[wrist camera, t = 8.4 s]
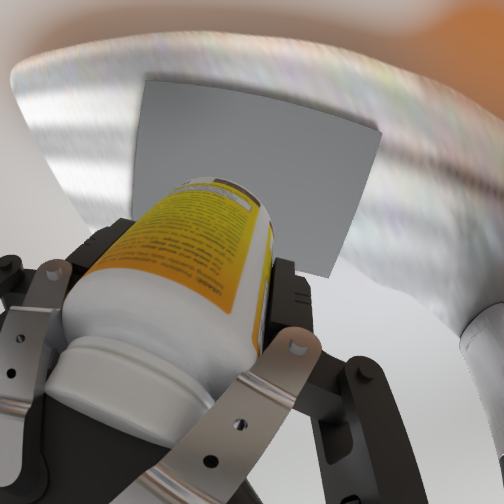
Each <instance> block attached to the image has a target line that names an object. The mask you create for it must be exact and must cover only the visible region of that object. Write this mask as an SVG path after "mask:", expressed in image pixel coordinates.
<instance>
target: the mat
mask: <svg viewBox="0 0 504 504" xmlns="http://www.w3.org/2000/svg"><path fill="white" fill-rule="evenodd" d="M381 137H382V132H379V131H377V130H374V129H371V128H369V127H366V126H363V125H361V124H358V123H355V122H352V121H349V120H346V119H344V118H340V117H337V116H334V115H331V114H328V113H325V112H321V111H318V110H315V109H311V108H308V107H304V106H301V105H297V104H293V103H289V102H285V101H281V100H277V99H273V98H268V97H264V96H259V95H254V94H249V93H244V92H239V91H233V90H227V89H221V88H215V87H208V86H200V85H192V84H183V83H173V82H161V81H146V82H145V88H144V94H143V100H142V106H141V113H140V121H139V129H138V137H137V146H136V157H135V169H134V184H133V203H132V221H136V222H137V221H138V220H139V219H140V218H141V217H142V216H143V215H144V214H145V213H146V212H147V211H148V210H150V209H151V208H152V207H153V206H154V205H155V204H156V203H157V202H159V201H160V200H161V199H162V198H163V197H164V196H165V195H166V194H167V193H169V192H170V191H171V190H172V189H174V188H175V187H176V186H178V185H180V184H182V183H183V182H186V181H188V180H191V179H195V178H199V177H219V178H225V179H228V180H231V181H233V182H236V183H238V184H240V185H242V186H243V187H245V188H246V189H248V190H249V191H251V192H252V193H253V194H254V195H255V196H256V197H257V198H258V199H259V200H260V201H261V203H262V204H263V205H264V207H265V208H266V210H267V212H268V214H269V216H270V218H271V221H272V225H273V230H274V251H273V262H272V264H273V263H274V260H275V258H276V257H278V258H282V259H286V260H290V261H294V262H295V270H297V271H301V272H305V273H309V274H313V275H317V276H321V277H325V278H329V276H330V273H331V271H332V269H333V267H334V264H335V262H336V259H337V257H338V255H339V252H340V250H341V248H342V245H343V243H344V240H345V238H346V235H347V233H348V230H349V228H350V225H351V223H352V220H353V217H354V215H355V212H356V210H357V207H358V204H359V201H360V199H361V196H362V193H363V190H364V188H365V185H366V182H367V179H368V176H369V173H370V171H371V168H372V165H373V162H374V159H375V156H376V152H377V149H378V146H379V143H380V140H381Z"/></svg>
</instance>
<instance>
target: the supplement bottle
mask: <svg viewBox="0 0 504 504" xmlns="http://www.w3.org/2000/svg"><path fill="white" fill-rule="evenodd" d="M273 251H274V230H273V225H272V221H271V218H270V216H269V214H268V212H267V210H266V208H265V207H264V205H263V204H262V203H261V201H260V200H259V199H258V198H257V197H256V196H255V195H254V194H253V193H252V192H251V191H249V190H248V189H246V188H245V187H243V186H242V185H240V184H238V183H236V182H233V181H231V180H228V179H225V178H219V177H199V178H195V179H191V180H188V181H186V182H183V183H182V184H180V185H178V186H176V187H175V188H174V189H172V190H171V191H170V192H169V193H167V194H166V195H165V196H164V197H163V198H162V199H161V200H160V201H159V202H157V203H156V204H155V205H154V206H153V207H152V208H151V209H150V210H148V211H147V212H146V213H145V214H144V215H143V216H142V217H141V218H140V219H139V220H138V221H137V222H136V223H135V224H134V225H133V226H131V227H130V228H129V229H128V230H127V231H126V232H125V233H124V234H123V235H122V236H121V237H120V238H119V239H118V240H117V241H116V242H115V243H114V244H113V245H112V246H111V247H110V248H109V249H108V250H107V251H106V252H105V253H104V254H103V255H102V256H101V257H100V259H99V260H98V261H97V262H96V263H95V264H94V265H93V266H92V267H91V268H90V269H89V270H88V271H87V272H86V273H85V274H84V276H83V277H82V278H81V279H80V280H79V281H78V282H77V283H76V285H75V286H74V287H73V288H72V290H71V291H70V292H69V294H68V296H67V297H66V299H65V301H64V305H63V309H62V324H63V329H64V334H65V338H66V341H67V343H68V348H67V349H66V350H65V351H63V352H62V353H61V355H60V357H59V360H58V363H57V365H56V367H55V368H54V370H53V371H52V373H51V375H50V376H49V378H48V380H47V381H46V383H45V390H44V392H45V393H46V394H48V395H49V396H51V397H52V398H54V399H56V400H57V401H59V402H61V403H63V404H64V405H66V406H68V407H70V408H72V409H74V410H76V411H78V412H80V413H83V414H85V415H87V416H89V417H91V418H93V419H95V420H97V421H99V422H102V423H104V424H106V425H108V426H111V427H113V428H115V429H118V430H120V431H123V432H125V433H127V434H130V435H132V436H135V437H138V438H140V439H143V440H146V441H148V442H151V443H154V444H157V445H160V446H164V447H167V448H170V449H172V448H173V447H174V446H175V445H176V444H177V443H178V442H179V441H180V440H181V439H182V438H183V437H184V436H185V435H186V434H187V433H188V432H189V431H190V430H191V429H192V428H193V426H194V425H195V424H196V423H197V422H198V421H199V420H200V419H201V418H202V417H203V416H204V415H205V413H206V412H207V411H208V410H209V409H210V408H211V407H212V406H213V405H214V403H215V402H216V401H217V400H218V399H219V398H220V397H221V396H222V394H223V393H224V392H225V391H226V390H227V389H228V388H229V386H230V385H231V384H232V383H233V382H234V381H235V379H236V378H237V377H238V376H239V375H240V374H241V373H243V372H244V373H247V372H248V371H249V370H250V369H251V367H252V366H253V365H254V364H255V363H256V361H257V360H258V359H259V358H260V356H261V355H262V349H263V340H264V332H265V324H266V316H267V308H268V298H269V289H270V280H271V272H272V262H273Z"/></svg>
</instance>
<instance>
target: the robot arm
mask: <svg viewBox="0 0 504 504" xmlns="http://www.w3.org/2000/svg"><path fill="white" fill-rule="evenodd" d="M135 223H136V221H132V220H128V219H124V218H120V219H119V220H117V221H116V222H115V223H114V224H113V225H112V226H110V227H105V228H103V229H100V230H98V231H96V232H95V233H94V234H93V235H92V236H91V237H90V239H87V240H86V241H85V242H84V244H82V245H80V246H79V247H78V248H77V249H76V250H75V251H74V252H73V253H72V254H70V255H69V256H68V257H67V258H66V259H65V260H62V259H53V260H49V261H47V262H45V263H43V264H42V265H40V267H39V268H38V269H37V270H33V269H24V268H23V264H22V260H21V258H20V257H19V256H17V255H6V256H3V257H1V258H0V298H1V301H2V303H3V306H4V308H5V311H4V312H3V313H2V314H0V504H263V503H262V501H261V500H260V498H259V497H258V495H257V494H256V492H255V491H254V489H253V488H252V486H251V485H250V483H249V482H248V480H247V478H246V477H247V475H248V474H249V472H250V471H251V470H252V468H253V467H254V466H255V464H256V463H257V461H258V460H259V459H260V457H261V456H262V454H263V453H264V451H265V450H266V448H267V447H268V445H269V444H270V442H271V441H272V439H273V438H274V436H275V434H276V433H277V431H278V430H279V428H280V426H281V425H282V423H283V422H284V420H285V418H286V417H287V415H288V414H289V412H290V410H291V409H295V410H297V411H299V412H301V413H303V414H306V415H308V416H310V418H311V424H312V429H313V434H314V439H315V444H316V450H317V456H318V461H319V467H320V472H321V478H322V484H323V489H324V495H325V501H326V504H428V500H427V496H426V493H425V489H424V486H423V482H422V479H421V475H420V472H419V469H418V465H417V463H416V459H415V456H414V453H413V450H412V447H411V444H410V441H409V438H408V435H407V432H406V429H405V426H404V424H403V421H402V418H401V415H400V413H399V410H398V407H397V405H396V402H395V399H394V397H393V394H392V392H391V389H390V386H389V384H388V381H387V379H386V377H385V374H384V372H383V370H382V368H381V367H380V366H379V364H377V363H376V362H375V361H374V360H372V359H370V358H368V357H365V356H354V357H352V358H350V359H349V360H348V361H347V362H344V361H341V360H339V359H337V358H334V357H332V356H330V355H329V354H327V353H326V352H324V351H323V350H322V346H321V343H320V341H319V339H318V338H317V337H316V336H315V335H314V333H313V317H312V306H311V303H312V302H311V288H310V285H309V284H308V282H307V281H306V279H305V277H301V276H297V275H295V262H294V261H290V260H286V259H282V258H278V257H276V258H275V260H274V263H273V267H272V272H271V280H270V289H269V298H268V308H267V316H266V324H265V332H264V340H263V349H262V355H261V356H260V358H259V359H258V360H257V361H256V363H255V364H254V365H253V366H252V367H251V369H250V370H249V371H248V372H247V373H244V372H243V373H241V374H240V375H239V376H238V377H237V378H236V379H235V381H234V382H233V383H232V384H231V385H230V386H229V388H228V389H227V390H226V391H225V392H224V393H223V394H222V396H221V397H220V398H219V399H218V400H217V401H216V402H215V403H214V405H213V406H212V407H211V408H210V409H209V410H208V411H207V412H206V413H205V415H204V416H203V417H202V418H201V419H200V420H199V421H198V422H197V423H196V424H195V425H194V426H193V428H192V429H191V430H190V431H189V432H188V433H187V434H186V435H185V436H184V437H183V438H182V439H181V440H180V441H179V442H178V443H177V444H176V445H175V446H174V447H173V448H172V449H170V448H167V447H164V446H160V445H157V444H154V443H151V442H148V441H146V440H143V439H140V438H138V437H135V436H132V435H130V434H127V433H125V432H123V431H120V430H118V429H115V428H113V427H111V426H108V425H106V424H104V423H102V422H99V421H97V420H95V419H93V418H91V417H89V416H87V415H85V414H83V413H80V412H78V411H76V410H74V409H72V408H70V407H68V406H66V405H64V404H63V403H61V402H59V401H57V400H56V399H54V398H52V397H51V396H49V395H48V394H46V393H45V392H44V390H45V383H46V381H47V380H48V378H49V376H50V375H51V373H52V371H53V370H54V368H55V367H56V365H57V363H58V360H59V357H60V355H61V353H62V352H63V351H65V350H66V349H67V348H68V343H67V341H66V338H65V334H64V329H63V324H62V309H63V305H64V301H65V299H66V297H67V296H68V294H69V292H70V291H71V290H72V288H73V287H74V286H75V285H76V283H77V282H78V281H79V280H80V279H81V278H82V277H83V276H84V274H85V273H86V272H87V271H88V270H89V269H90V268H91V267H92V266H93V265H94V264H95V263H96V262H97V261H98V260H99V259H100V257H101V256H102V255H103V254H104V253H105V252H106V251H107V250H108V249H109V248H110V247H111V246H112V245H113V244H114V243H115V242H116V241H117V240H118V239H119V238H120V237H121V236H122V235H123V234H124V233H125V232H126V231H127V230H128V229H129V228H130V227H131V226H133V225H134V224H135ZM459 348H460V351H461V353H462V355H463V357H464V360H465V362H466V364H467V367H468V369H469V372H470V374H471V377H472V379H473V381H474V384H475V387H476V389H477V392H478V394H479V397H480V400H481V402H482V405H483V408H484V411H485V414H486V417H487V420H488V423H489V427H490V430H491V433H492V437H493V440H494V443H495V447H496V451H497V455H498V459H499V463H500V467H501V472H502V478H503V485H504V303H499V304H495V305H493V306H491V307H489V308H487V309H486V310H484V311H483V312H481V313H480V314H479V315H478V316H477V317H476V318H475V319H474V320H473V321H472V322H471V323H470V324H469V325H468V327H467V328H466V330H465V331H464V333H463V335H462V337H461V339H460V343H459Z"/></svg>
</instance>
